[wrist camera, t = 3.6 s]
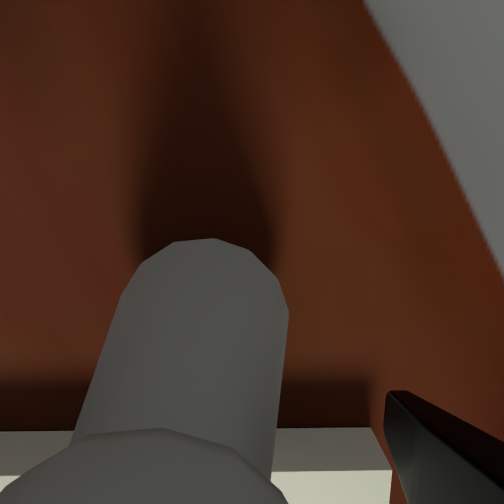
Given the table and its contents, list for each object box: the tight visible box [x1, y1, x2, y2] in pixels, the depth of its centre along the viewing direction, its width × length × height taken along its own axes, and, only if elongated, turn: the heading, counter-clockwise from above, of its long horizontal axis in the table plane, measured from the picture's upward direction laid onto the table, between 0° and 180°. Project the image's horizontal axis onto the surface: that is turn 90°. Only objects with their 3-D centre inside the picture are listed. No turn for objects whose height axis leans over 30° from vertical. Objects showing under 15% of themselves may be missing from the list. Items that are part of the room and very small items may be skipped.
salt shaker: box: [0, 238, 289, 504], centre depth 9 cm, size 6×6×13 cm
